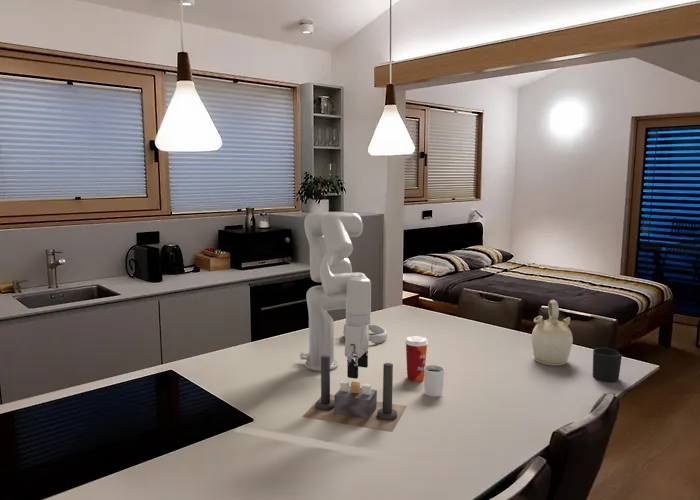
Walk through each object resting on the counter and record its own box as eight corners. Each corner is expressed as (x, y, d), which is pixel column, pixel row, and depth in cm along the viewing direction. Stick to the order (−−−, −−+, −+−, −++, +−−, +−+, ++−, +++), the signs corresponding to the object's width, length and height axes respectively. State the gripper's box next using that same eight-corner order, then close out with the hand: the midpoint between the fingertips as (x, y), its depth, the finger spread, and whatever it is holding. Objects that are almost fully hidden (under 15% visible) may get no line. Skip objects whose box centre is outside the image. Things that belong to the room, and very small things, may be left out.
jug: (529, 364, 209) (532, 302, 206) (531, 352, 223) (535, 294, 220) (571, 370, 204) (575, 306, 200) (571, 357, 218) (575, 297, 214)
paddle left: (340, 390, 164) (339, 382, 163) (342, 388, 165) (341, 379, 164) (348, 391, 163) (347, 383, 162) (349, 389, 164) (348, 381, 163)
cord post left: (312, 408, 165) (312, 358, 163) (320, 401, 171) (320, 352, 168) (330, 411, 163) (331, 361, 161) (337, 403, 169) (337, 354, 167)
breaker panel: (302, 421, 160) (301, 397, 159) (324, 397, 177) (324, 376, 176) (392, 436, 151) (392, 411, 150) (406, 410, 168) (407, 387, 167)
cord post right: (374, 418, 159) (375, 366, 156) (380, 410, 164) (381, 360, 162) (394, 422, 157) (395, 369, 154) (399, 413, 162) (400, 362, 160)
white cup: (430, 402, 174) (431, 373, 172) (419, 395, 179) (419, 366, 178) (447, 398, 177) (448, 370, 175) (435, 391, 183) (436, 363, 181)
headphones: (341, 343, 232) (386, 350, 232) (344, 326, 230) (389, 333, 231) (342, 331, 250) (384, 337, 250) (345, 315, 249) (387, 321, 249)
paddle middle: (351, 392, 163) (350, 384, 162) (352, 389, 164) (352, 381, 163) (358, 393, 162) (358, 385, 161) (360, 390, 163) (359, 382, 162)
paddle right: (362, 394, 161) (361, 385, 160) (363, 391, 163) (363, 383, 162) (369, 395, 161) (369, 386, 160) (371, 392, 162) (370, 384, 161)
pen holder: (623, 377, 196) (625, 351, 195) (614, 385, 189) (617, 358, 188) (596, 371, 202) (598, 346, 201) (587, 378, 196) (589, 351, 194)
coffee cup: (426, 383, 189) (427, 343, 187) (403, 381, 191) (404, 341, 189) (427, 375, 197) (428, 336, 195) (405, 373, 199) (406, 334, 197)
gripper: (355, 310, 170) (355, 361, 173) (336, 324, 154) (336, 380, 157) (378, 312, 168) (377, 364, 170) (361, 326, 152) (360, 384, 154)
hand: (357, 372), depth 163 cm, fingers open, 9 cm apart
